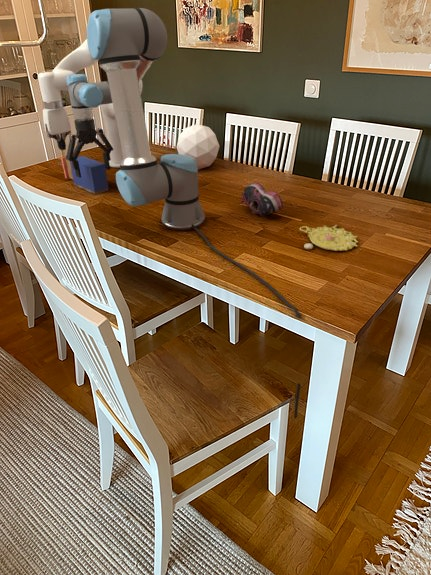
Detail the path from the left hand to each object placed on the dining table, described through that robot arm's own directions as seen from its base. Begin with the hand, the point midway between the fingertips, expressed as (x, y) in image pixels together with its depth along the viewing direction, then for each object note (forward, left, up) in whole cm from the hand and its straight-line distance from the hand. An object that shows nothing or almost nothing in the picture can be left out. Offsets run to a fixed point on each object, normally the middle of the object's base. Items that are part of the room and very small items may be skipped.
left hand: (62, 149), depth 194 cm
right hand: (+14, +20, -5) cm, 25 cm away
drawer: (+4, +6, -12) cm, 14 cm away
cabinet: (+11, +16, -13) cm, 24 cm away
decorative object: (+46, +115, -13) cm, 125 cm away
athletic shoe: (+26, +90, -13) cm, 94 cm away
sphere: (-22, +56, -13) cm, 61 cm away
